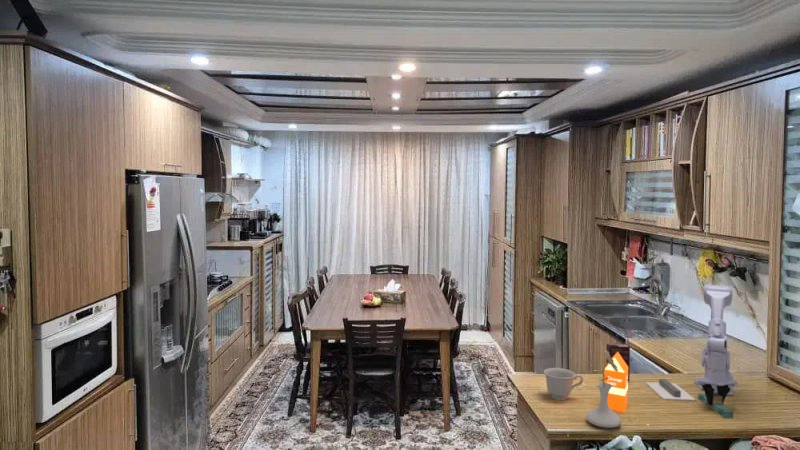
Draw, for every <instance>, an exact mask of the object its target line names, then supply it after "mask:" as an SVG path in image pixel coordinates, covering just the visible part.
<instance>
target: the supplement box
mask: <svg viewBox="0 0 800 450" xmlns="http://www.w3.org/2000/svg"><path fill="white" fill-rule="evenodd" d="M630 348H631V346H630V345H628V344H627V343H606V351H607V353H609V354H610V357H611V359H612V357H613V356H614V355H615V354H616V353H617V352H618V353H619V354H620V356H621V357H622V359H623V360H624V362H625V363H626V365H627V366H628V384H629V383H630V377H631V376H630V374H631V373H630V372H631V369H630V365H631V364H630V362H631V360H630V358H631V356H630V354H631V351H630V350H631V349H630ZM605 358H606V357H605ZM605 360H606V364H607V361H608V360H607V358H606V359H605ZM606 364H605V365H606Z"/></svg>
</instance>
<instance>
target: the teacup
mask: <svg viewBox="0 0 800 450" xmlns="http://www.w3.org/2000/svg"><path fill="white" fill-rule="evenodd" d="M543 373H544V375H545V379H546V389H547V392H549V394H551V398H552V399H553V400H557V401H564V400H565V401H566V400H567V399H568V398H567V397H568V396H569V395H571V393H572V390H574V388H576V387H580V386H582V384H583V382H584V377H583V375H581V374H580V373H577V374H576V373H575V372H574V371H573V370H569V369H567V368H563V367H550V368H546V369H544V371H543ZM578 378H580V381H579V382H578V383H575V384H573V383H574V380H575V381H577V379H578Z"/></svg>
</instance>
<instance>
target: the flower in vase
mask: <svg viewBox="0 0 800 450" xmlns="http://www.w3.org/2000/svg"><path fill="white" fill-rule="evenodd" d="M603 353H604V356H605V358H607V360H608V361H607V364H608V363H609V364H611V366H612V367H613V369H614V370H615V371H616V372H617V371H618V369H617V366H616V365H615V364H614V363H613V362H614V360H613V359H611V357H610V354H609V353H607V350H604V352H603ZM607 364H605V365H604V367H603V370H601V373H602V379H601V381H602V382H601V381H600V382H597V383H596V386H597V388H598V389H599V393H600V403H599V405H598V406H596V407H594V408H593V409H591V410H590V411H587V413H586V416H585V417H586V419H587V421H588V423H590V424H592V425H594V426H597V427H600V428H605V429H606V428H608V429H613V428H617V427H619V426H620V425H622V420H621V417H620V416H618V414H617V413H616V412H615V411H614V410H611V409H610V408H609V406H608V401H607V400H608V393H609V390H610V388H611V387H612V385H611V384H608V383H604V380H606V379H609V378H608V377H606V378H605V379H604V377H605V375H604V370H605V368H606V366H607Z"/></svg>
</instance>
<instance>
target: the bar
mask: <svg viewBox="0 0 800 450" xmlns="http://www.w3.org/2000/svg"><path fill="white" fill-rule="evenodd" d="M697 395H698V396H697V399H698V400H699V401H701V402H702V403H704V405H706V406H707V405H708V406H707V407H708V408H710V409H711V408H712V409H711V410H713V411H714V412H715V411H716V413H717V414H718V415H719V414H720V416H721V417H722V418H724V419H734V412H733V411H732V410H731V409H729V408H728V407H727V406H725V405H724V404H723V405H722V396H721V395H719V394H718V393H715V392H714V393H713V403H712V405H709V404H708V403H707V398H706V395H705V392H704V393H702V392H701V393H700V392H698V394H697Z"/></svg>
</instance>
